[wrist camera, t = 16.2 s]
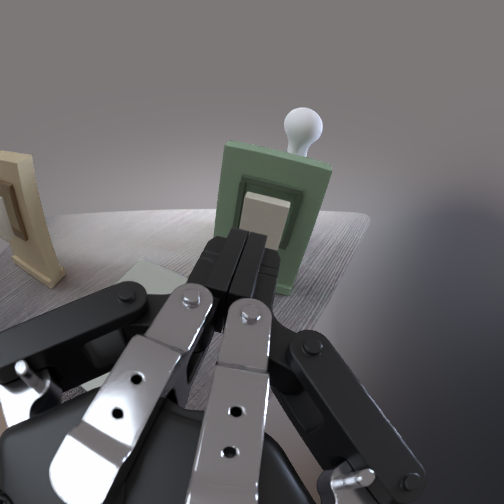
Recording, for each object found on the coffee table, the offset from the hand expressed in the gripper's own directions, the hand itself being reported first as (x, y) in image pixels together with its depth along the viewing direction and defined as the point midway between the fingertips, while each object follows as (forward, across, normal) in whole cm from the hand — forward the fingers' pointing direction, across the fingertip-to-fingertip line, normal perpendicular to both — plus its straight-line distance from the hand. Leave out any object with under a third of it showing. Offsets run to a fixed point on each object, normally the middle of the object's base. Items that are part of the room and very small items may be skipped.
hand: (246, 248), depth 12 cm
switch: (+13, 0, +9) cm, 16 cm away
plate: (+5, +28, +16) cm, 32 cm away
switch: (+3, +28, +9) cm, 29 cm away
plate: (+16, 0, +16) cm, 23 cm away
